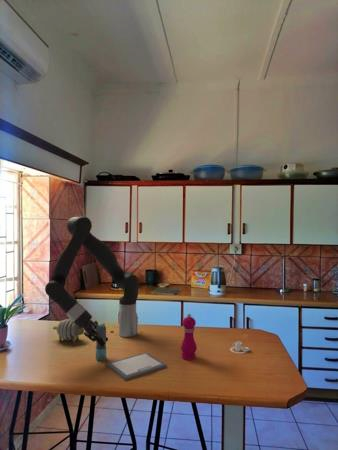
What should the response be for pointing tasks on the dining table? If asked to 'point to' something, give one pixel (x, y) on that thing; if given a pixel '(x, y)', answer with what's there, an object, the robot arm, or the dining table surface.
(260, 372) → the dining table surface
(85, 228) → the robot arm
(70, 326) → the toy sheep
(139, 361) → the grey flat block
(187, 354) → the pepper mill
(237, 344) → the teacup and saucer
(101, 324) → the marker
